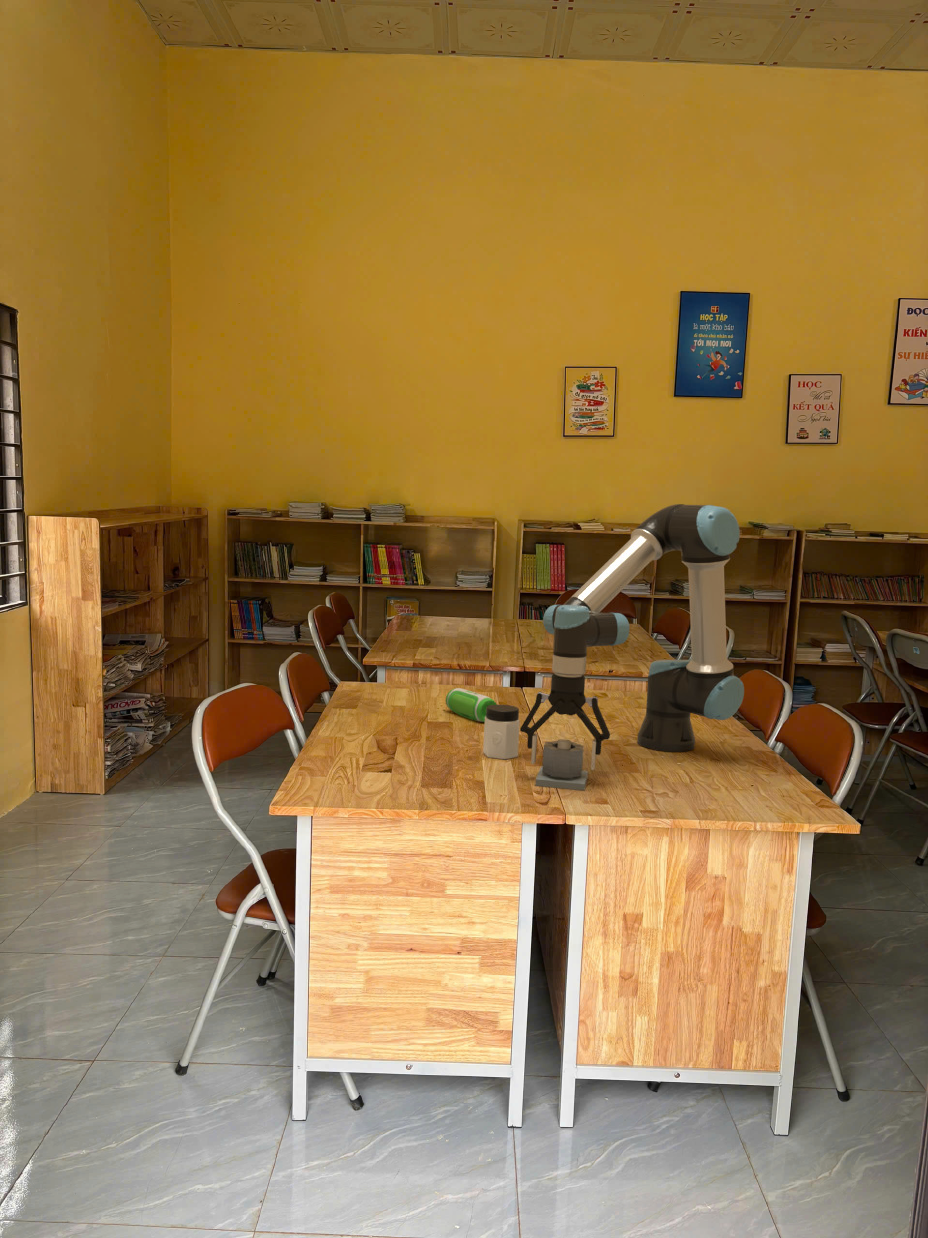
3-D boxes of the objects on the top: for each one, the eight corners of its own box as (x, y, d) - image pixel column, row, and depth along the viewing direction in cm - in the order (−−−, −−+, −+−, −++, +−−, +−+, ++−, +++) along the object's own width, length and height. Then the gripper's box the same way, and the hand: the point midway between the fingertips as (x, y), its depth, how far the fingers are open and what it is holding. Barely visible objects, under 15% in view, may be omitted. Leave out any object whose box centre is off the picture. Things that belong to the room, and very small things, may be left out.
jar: (478, 756, 243) (480, 709, 241) (487, 749, 250) (489, 703, 249) (513, 761, 240) (516, 713, 239) (521, 753, 248) (524, 706, 246)
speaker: (498, 722, 281) (500, 697, 280) (478, 725, 277) (479, 699, 276) (463, 710, 295) (464, 685, 294) (443, 712, 291) (444, 687, 290)
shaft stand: (587, 777, 229) (590, 737, 228) (584, 790, 218) (587, 749, 217) (540, 772, 231) (542, 733, 230) (535, 785, 220) (537, 744, 219)
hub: (582, 768, 228) (584, 743, 227) (580, 778, 219) (581, 752, 219) (545, 764, 229) (546, 739, 229) (540, 775, 221) (542, 748, 220)
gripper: (624, 675, 223) (618, 766, 226) (516, 667, 227) (511, 756, 230) (623, 681, 216) (617, 775, 218) (511, 672, 220) (506, 764, 223)
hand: (562, 765), depth 224 cm, fingers open, 13 cm apart
